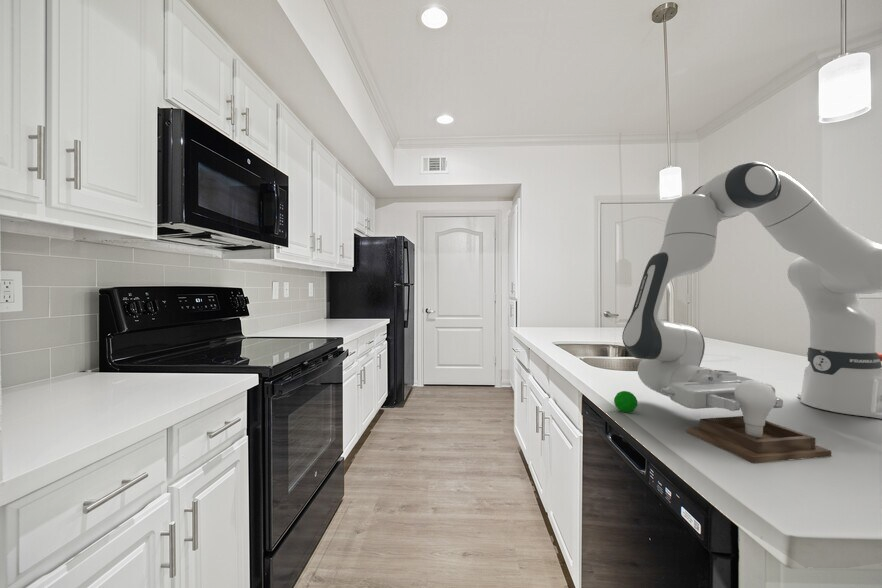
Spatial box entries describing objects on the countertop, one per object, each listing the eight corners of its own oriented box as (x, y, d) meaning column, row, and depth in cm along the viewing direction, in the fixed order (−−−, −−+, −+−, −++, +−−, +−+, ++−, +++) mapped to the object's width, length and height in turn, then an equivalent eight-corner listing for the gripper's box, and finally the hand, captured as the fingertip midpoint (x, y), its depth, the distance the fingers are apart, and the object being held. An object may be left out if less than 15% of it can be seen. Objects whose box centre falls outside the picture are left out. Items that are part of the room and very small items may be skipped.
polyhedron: (609, 410, 92) (610, 391, 92) (621, 407, 95) (621, 388, 95) (629, 416, 88) (630, 395, 88) (641, 412, 91) (641, 392, 91)
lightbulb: (759, 433, 75) (761, 377, 75) (783, 445, 69) (785, 384, 69) (726, 431, 76) (727, 376, 76) (747, 443, 70) (748, 383, 70)
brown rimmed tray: (753, 427, 81) (754, 413, 81) (831, 456, 67) (831, 439, 67) (687, 432, 78) (687, 417, 78) (753, 463, 64) (753, 445, 64)
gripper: (656, 374, 84) (710, 390, 70) (736, 370, 87) (803, 386, 73) (655, 403, 84) (709, 425, 70) (736, 398, 87) (803, 418, 73)
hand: (758, 405), depth 72 cm, fingers open, 8 cm apart
